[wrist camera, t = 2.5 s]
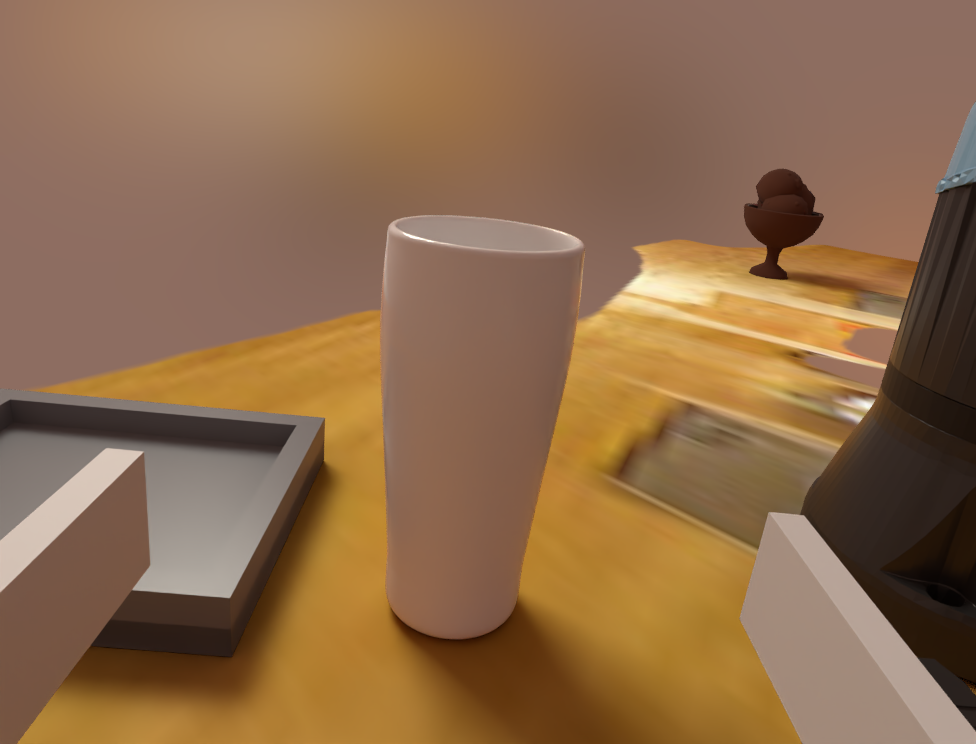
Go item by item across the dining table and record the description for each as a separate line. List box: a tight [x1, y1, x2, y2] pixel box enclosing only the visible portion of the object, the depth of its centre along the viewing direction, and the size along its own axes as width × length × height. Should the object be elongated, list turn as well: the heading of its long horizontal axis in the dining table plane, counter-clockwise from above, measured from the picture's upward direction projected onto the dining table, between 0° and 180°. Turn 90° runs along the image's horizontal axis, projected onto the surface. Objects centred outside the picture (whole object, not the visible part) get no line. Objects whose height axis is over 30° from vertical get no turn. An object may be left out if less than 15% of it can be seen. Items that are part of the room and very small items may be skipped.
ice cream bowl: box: [744, 169, 824, 279], centre depth 103 cm, size 11×11×15 cm
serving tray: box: [0, 389, 325, 657], centre depth 31 cm, size 17×15×2 cm
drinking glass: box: [380, 215, 585, 639], centre depth 27 cm, size 7×7×15 cm
